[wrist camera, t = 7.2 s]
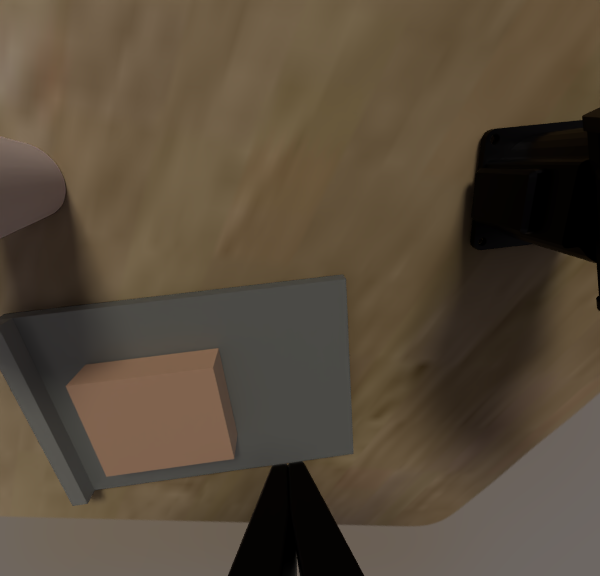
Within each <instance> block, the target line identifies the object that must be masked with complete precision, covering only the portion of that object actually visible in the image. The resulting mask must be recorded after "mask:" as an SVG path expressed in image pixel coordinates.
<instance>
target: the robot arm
mask: <svg viewBox="0 0 600 576" xmlns="http://www.w3.org/2000/svg"><path fill="white" fill-rule="evenodd" d="M582 119H583V120H579V121H569V122H559V123H549V124H539V125H529V126H519V127H509V128H499V129H491V130H488V131H487V132H485V133H484V135H483V136H482V139H481V147H480V156H479V165H478V172H477V173H476V178H475V187H474V197H473V206H472V218H473V221H472V231H471V240H470V242H471V246H472V247H474V248H476V249H478V250H486V249H494V248H503V247H512V246H520V245H529V244H535V245H538V246H542V247H545V248H548V249H551V250H555V251H558V252H561V253H564V254H567V255H571V256H574V257H577V258H580V259H584V260H587V261H590V262H593V263H597V274H598V288H599V296H598V297H597V298H596V301H597V309H598V310H599V311H600V108H598V109H596V110H593V111H591V112H589V113H587V114H585V115H583V116H582ZM493 135H494V137H495V140H494V142H493V144H491V142H490V139H491V137H492V136H493ZM481 238H482V239H483V240H482V242H481V243H480V244H478V242H479V240H480V239H481ZM296 554H297V556H296ZM297 560H298V567H299V573H300V576H364V574H363V573H362V571H361V569H360V567H359V565H358V563H357V561H356V559H355V558H354V556H353V554H352V552H351V550H350V548H349V546H348V545H347V543H346V541H345V539H344V537H343V535H342V533H341V531H340V529H339V528H338V526H337V524H336V522H335V520H334V518H333V516H332V514H331V513H330V511H329V509H328V507H327V505H326V503H325V501H324V499H323V498H322V496H321V494H320V492H319V490H318V488H317V486H316V484H315V483H314V481H313V479H312V477H311V475H310V473H309V471H308V469H307V468H306V466H305V464H304V463H303V462H302V461H299V462H292V463H289V464H288V465H287V464H278V465H273V466H272V468H271V470H270V472H269V475H268V477H267V480H266V482H265V485H264V487H263V489H262V492H261V494H260V497H259V499H258V502H257V504H256V507H255V509H254V512H253V514H252V517H251V519H250V522H249V524H248V527H247V529H246V532H245V534H244V537H243V539H242V542H241V544H240V547H239V550H238V552H237V554H236V557H235V559H234V562H233V564H232V567H231V570H230V572H229V574H228V576H297Z"/></svg>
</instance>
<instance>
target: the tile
mask: <svg viewBox="0 0 600 576" xmlns="http://www.w3.org/2000/svg"><path fill="white" fill-rule="evenodd" d="M66 388H67V390H68V393H69V395H70V397H71V399H72V402H73V404H74V406H75V408H76V410H77V413H78V415H79V417H80V419H81V421H82V424H83V426H84V428H85V430H86V433H87V435H88V437H89V439H90V441H91V444H92V446H93V448H94V450H95V452H96V455H97V457H98V459H99V461H100V464H101V466H102V468H103V470H104V472H105V475H106V477H108V476H115V475H123V474H130V473H137V472H144V471H151V470H158V469H166V468H173V467H180V466H187V465H194V464H201V463H209V462H216V461H223V460H230V459H234V458H235V450H236V442H237V430H236V425H235V421H234V416H233V412H232V407H231V403H230V398H229V393H228V389H227V384H226V380H225V375H224V371H223V366H222V362H221V357H220V352H219V348H215V349H207V350H199V351H191V352H183V353H175V354H167V355H159V356H151V357H143V358H135V359H127V360H119V361H111V362H103V363H95V364H87V365H85V366H84V367H83V368H82V369H81V370H80V371H79V372H78V373H77V374H76V375H75V377H74V378H73V379H72V380H71V381H70V382H69V383H68V384H67V385H66Z"/></svg>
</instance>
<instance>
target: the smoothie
mask: <svg viewBox="0 0 600 576" xmlns="http://www.w3.org/2000/svg"><path fill="white" fill-rule="evenodd" d="M65 194H66V186H65V181H64V178H63V175H62V173H61V171H60V169H59V167H58V166H57V164H56V163H55V162H54V161H53V160H52V159H51V158H50V157H49V156H48V155H47V154H46V153H45V152H43V151H42V150H40V149H39V148H37V147H35V146H33V145H30V144H27V143H24V142H20V141H16V140H12V139H8V138H4V137H1V136H0V239H1V238H3V237H5V236H7V235H9V234H11V233H13V232H16V231H18V230H20V229H22V228H24V227H26V226H28V225H31V224H33V223H35V222H37V221H39V220H41V219H43V218H45V217H48V216H50V215H52V214H54V213H55V212H56V211H57V210H58V209H59V208H60V207H61V206H62V204H63V202H64V199H65Z"/></svg>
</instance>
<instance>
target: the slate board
mask: <svg viewBox="0 0 600 576" xmlns="http://www.w3.org/2000/svg"><path fill="white" fill-rule="evenodd" d="M215 348H219V352H220V357H221V362H222V366H223V371H224V375H225V380H226V384H227V389H228V393H229V398H230V403H231V407H232V412H233V416H234V421H235V425H236V430H237V442H236V450H235V458H234V459H230V460H223V461H216V462H209V463H201V464H194V465H187V466H180V467H173V468H166V469H158V470H151V471H144V472H137V473H130V474H123V475H115V476H108V477H106V475H105V472H104V470H103V468H102V466H101V464H100V461H99V459H98V457H97V455H96V452H95V450H94V448H93V446H92V444H91V441H90V439H89V437H88V435H87V433H86V430H85V428H84V426H83V424H82V421H81V419H80V417H79V415H78V413H77V410H76V408H75V406H74V404H73V402H72V399H71V397H70V395H69V393H68V390H67V388H66V385H67V384H68V383H69V382H70V381H71V380H72V379H73V378H74V377H75V375H76V374H77V373H78V372H79V371H80V370H81V369H82V368H83V367H84V366H85V365H87V364H95V363H103V362H111V361H119V360H127V359H135V358H143V357H151V356H159V355H167V354H175V353H183V352H191V351H199V350H207V349H215ZM0 370H1V372H2V374H3V376H4V378H5V380H6V381H7V383H8V385H9V387H10V389H11V391H12V393H13V395H14V396H15V398H16V400H17V402H18V404H19V406H20V408H21V410H22V412H23V413H24V415H25V417H26V419H27V421H28V423H29V425H30V427H31V428H32V430H33V432H34V434H35V436H36V438H37V440H38V442H39V443H40V445H41V447H42V449H43V451H44V453H45V455H46V457H47V458H48V460H49V462H50V464H51V466H52V468H53V470H54V472H55V473H56V475H57V477H58V479H59V481H60V483H61V485H62V487H63V488H64V490H65V492H66V494H67V496H68V498H69V500H70V502H71V504H72V505H73V506H75V505H82V504H88V502H89V500H90V498H91V496H92V494H93V493H94V491H95V490H99V489H106V488H113V487H120V486H127V485H134V484H141V483H148V482H155V481H162V480H170V479H177V478H184V477H191V476H198V475H205V474H212V473H219V472H226V471H233V470H241V469H248V468H255V467H262V466H269V465H276V464H283V463H290V462H297V461H304V460H312V459H319V458H326V457H333V456H340V455H347V454H353V434H352V410H351V387H350V363H349V340H348V316H347V293H346V278H345V277H344V275H335V276H326V277H318V278H309V279H301V280H292V281H284V282H275V283H266V284H258V285H249V286H241V287H232V288H224V289H215V290H206V291H198V292H189V293H181V294H172V295H164V296H155V297H146V298H138V299H129V300H121V301H112V302H104V303H95V304H86V305H78V306H69V307H61V308H52V309H44V310H35V311H26V312H18V313H9V314H4V315H2V316H0Z"/></svg>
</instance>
